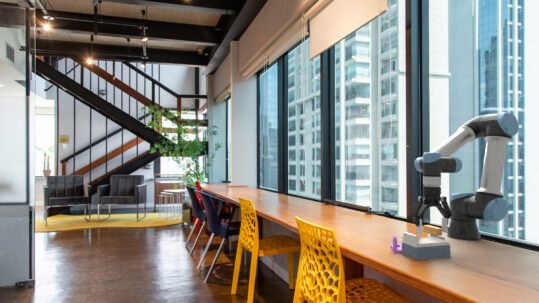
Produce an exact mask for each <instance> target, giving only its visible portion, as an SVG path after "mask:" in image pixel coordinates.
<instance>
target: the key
mask: <svg viewBox="0 0 539 303" xmlns="http://www.w3.org/2000/svg"><path fill="white" fill-rule="evenodd" d="M423 232H424V233H426V234H430V236H429V237H435V238H439V239H442V240H446V239H445V237H444V236H443V232H442V227H437V226H434V225H430V224H422V233H423Z"/></svg>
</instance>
